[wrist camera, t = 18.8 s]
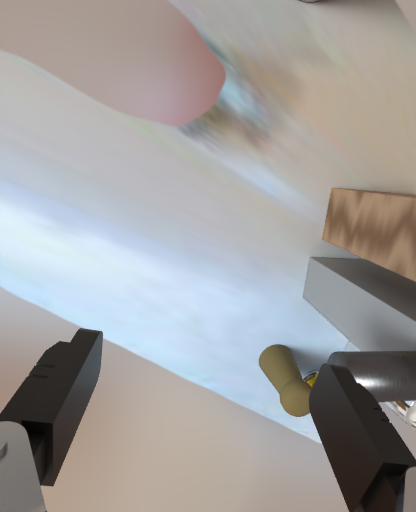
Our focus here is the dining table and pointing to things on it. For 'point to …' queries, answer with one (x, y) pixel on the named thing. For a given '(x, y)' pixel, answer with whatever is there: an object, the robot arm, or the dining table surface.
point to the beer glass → (406, 410)
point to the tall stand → (374, 227)
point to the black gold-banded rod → (382, 372)
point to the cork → (286, 379)
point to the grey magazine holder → (364, 302)
